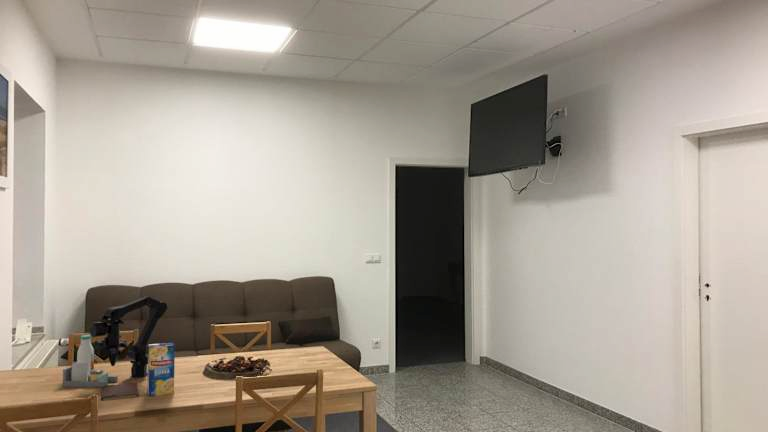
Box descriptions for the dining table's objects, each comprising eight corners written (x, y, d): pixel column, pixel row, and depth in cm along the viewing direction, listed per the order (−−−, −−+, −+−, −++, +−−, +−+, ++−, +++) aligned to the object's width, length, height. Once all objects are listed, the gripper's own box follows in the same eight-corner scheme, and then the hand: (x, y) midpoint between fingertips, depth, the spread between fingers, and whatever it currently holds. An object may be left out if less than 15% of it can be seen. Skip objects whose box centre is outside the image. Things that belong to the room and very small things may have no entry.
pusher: (108, 381, 290) (108, 372, 290) (99, 386, 282) (99, 376, 282) (106, 381, 290) (106, 372, 290) (97, 385, 282) (97, 376, 282)
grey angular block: (87, 384, 285) (87, 363, 286) (71, 385, 283) (71, 364, 283) (87, 382, 289) (88, 361, 289) (72, 383, 286) (72, 362, 287)
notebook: (136, 386, 284) (136, 382, 284) (138, 397, 266) (138, 393, 266) (101, 389, 278) (102, 385, 278) (101, 401, 260) (101, 397, 260)
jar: (105, 382, 288) (105, 369, 289) (99, 385, 283) (99, 372, 283) (93, 382, 289) (93, 369, 289) (87, 385, 283) (87, 372, 283)
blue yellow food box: (147, 392, 272) (147, 344, 272) (172, 389, 277) (172, 342, 277) (148, 396, 266) (149, 347, 266) (174, 393, 271) (174, 345, 271)
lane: (117, 381, 291) (117, 365, 291) (106, 387, 280) (107, 370, 280) (75, 380, 291) (75, 364, 291) (62, 386, 281) (63, 369, 281)
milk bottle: (86, 377, 298) (87, 337, 298) (73, 376, 299) (73, 336, 299) (97, 373, 305) (97, 334, 305) (83, 372, 307) (84, 333, 307)
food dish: (256, 363, 336) (257, 349, 336) (280, 377, 308) (281, 362, 308) (193, 369, 316) (194, 354, 317) (213, 384, 289) (213, 368, 289)
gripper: (105, 330, 299) (105, 361, 299) (87, 337, 280) (86, 370, 280) (127, 330, 299) (127, 361, 299) (110, 337, 280) (110, 370, 280)
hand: (113, 365), depth 289 cm, fingers closed
